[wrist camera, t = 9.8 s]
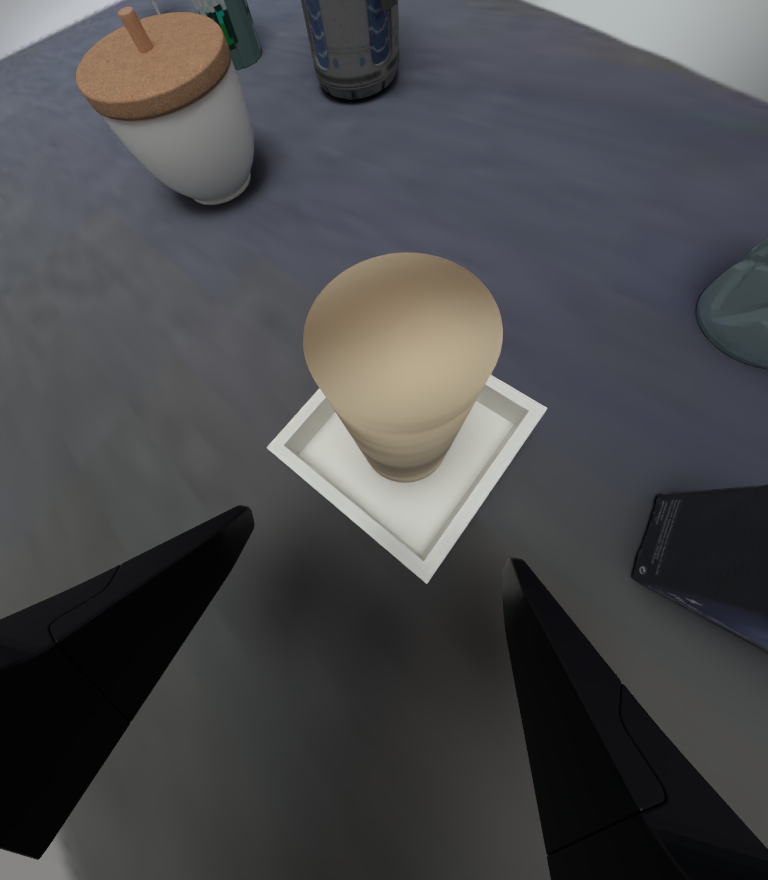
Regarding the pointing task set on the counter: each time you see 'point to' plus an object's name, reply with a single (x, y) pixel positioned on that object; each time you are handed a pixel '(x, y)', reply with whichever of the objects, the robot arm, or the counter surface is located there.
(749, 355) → the drinking glass
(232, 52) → the can
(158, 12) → the lollipop
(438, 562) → the tray
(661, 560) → the small box
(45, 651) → the robot arm
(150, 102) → the lidded bowl
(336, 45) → the beverage bottle
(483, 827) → the counter surface
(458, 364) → the canister
